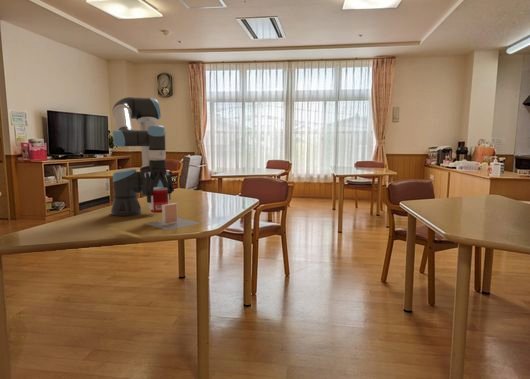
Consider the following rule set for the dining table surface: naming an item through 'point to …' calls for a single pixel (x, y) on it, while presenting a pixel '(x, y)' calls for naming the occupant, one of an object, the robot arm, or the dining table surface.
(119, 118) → the robot arm
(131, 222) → the dining table surface
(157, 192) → the canned food
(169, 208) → the tile
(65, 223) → the dining table surface
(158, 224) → the slate board
